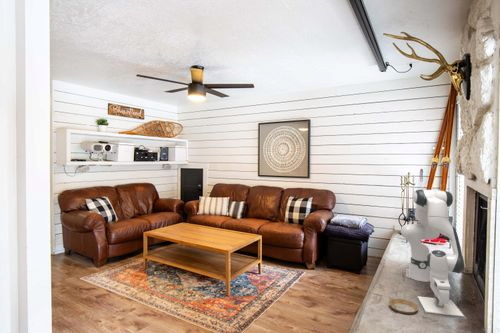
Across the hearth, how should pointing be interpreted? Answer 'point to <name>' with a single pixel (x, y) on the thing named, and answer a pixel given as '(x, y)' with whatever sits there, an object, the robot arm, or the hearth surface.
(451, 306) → the cover sheet
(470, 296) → the hearth surface
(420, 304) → the charcoal mat
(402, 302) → the plant saucer
